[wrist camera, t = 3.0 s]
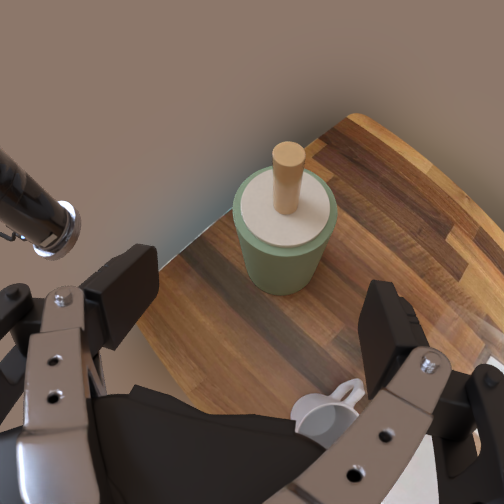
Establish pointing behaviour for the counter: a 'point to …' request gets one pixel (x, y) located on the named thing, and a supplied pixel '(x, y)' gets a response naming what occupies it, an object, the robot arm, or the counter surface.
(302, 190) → the lid
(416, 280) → the counter surface
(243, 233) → the cylinder
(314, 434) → the mug
